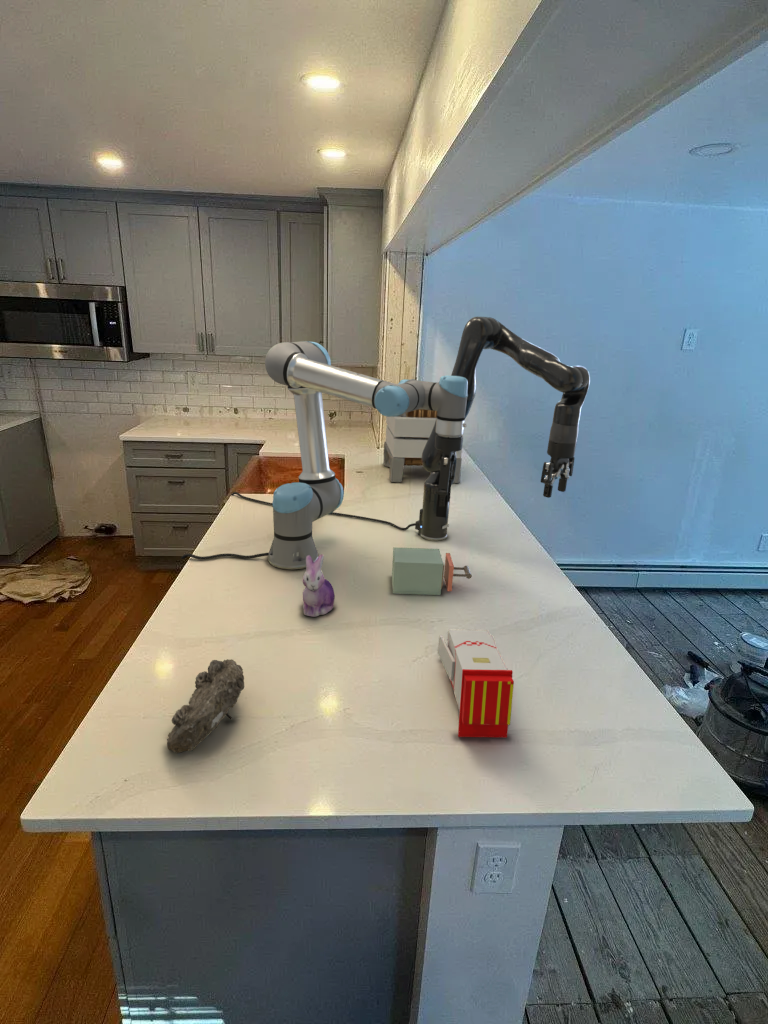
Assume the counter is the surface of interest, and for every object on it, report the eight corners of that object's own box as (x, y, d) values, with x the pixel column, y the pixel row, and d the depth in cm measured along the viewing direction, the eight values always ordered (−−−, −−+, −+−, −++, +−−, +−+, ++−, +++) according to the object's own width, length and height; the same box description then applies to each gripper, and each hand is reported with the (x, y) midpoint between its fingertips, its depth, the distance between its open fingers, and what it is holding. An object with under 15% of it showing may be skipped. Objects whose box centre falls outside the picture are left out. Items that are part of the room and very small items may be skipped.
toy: (488, 613, 130) (523, 677, 101) (484, 667, 133) (517, 744, 104) (435, 612, 130) (455, 676, 101) (432, 666, 133) (451, 743, 103)
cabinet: (436, 578, 168) (439, 548, 165) (440, 595, 158) (443, 563, 155) (391, 577, 167) (393, 547, 164) (392, 593, 158) (394, 562, 155)
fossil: (192, 660, 117) (244, 628, 112) (224, 691, 120) (276, 661, 115) (142, 746, 98) (202, 712, 93) (182, 779, 101) (242, 748, 96)
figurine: (307, 621, 142) (307, 567, 137) (294, 603, 150) (293, 551, 145) (342, 614, 146) (343, 561, 141) (327, 596, 154) (328, 545, 149)
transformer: (382, 463, 289) (386, 382, 275) (445, 464, 293) (451, 384, 279) (390, 482, 257) (394, 392, 243) (460, 483, 261) (468, 394, 247)
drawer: (466, 577, 167) (469, 553, 165) (471, 592, 159) (474, 566, 156) (406, 575, 167) (408, 551, 164) (408, 590, 158) (409, 564, 156)
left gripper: (460, 446, 141) (453, 525, 149) (465, 427, 164) (458, 496, 172) (430, 443, 142) (425, 522, 150) (439, 425, 166) (434, 494, 173)
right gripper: (562, 433, 166) (554, 486, 172) (538, 439, 157) (530, 495, 162) (587, 438, 161) (577, 492, 167) (563, 445, 152) (553, 502, 157)
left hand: (443, 508), depth 161 cm, fingers open, 13 cm apart
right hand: (554, 494), depth 165 cm, fingers open, 8 cm apart
